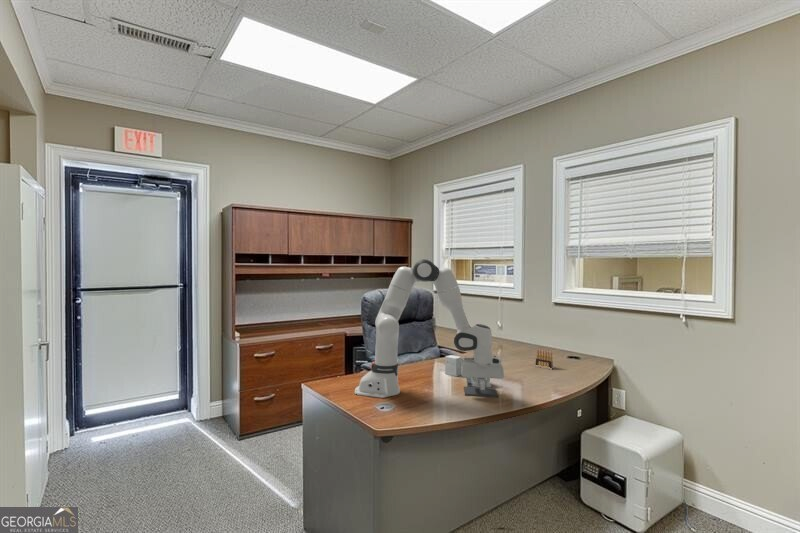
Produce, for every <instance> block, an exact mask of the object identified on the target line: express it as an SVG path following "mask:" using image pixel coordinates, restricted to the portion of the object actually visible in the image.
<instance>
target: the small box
mask: <svg viewBox="0 0 800 533" xmlns="http://www.w3.org/2000/svg"><path fill="white" fill-rule="evenodd" d="M444 358H445V362H444V363H445V364H444V365H445V366H444V368H445V370H444V371H445V372H444V374H445V375H448V376H451V377H456V378H457V377H459V376H462V375H461V370H462V366H461V360H462V359H463V358H462V356H457V355H454V354H453V355H452V354H449V355H446V356H445V357H444Z"/></svg>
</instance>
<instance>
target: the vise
mask: <svg viewBox="0 0 800 533" xmlns="http://www.w3.org/2000/svg"><path fill="white" fill-rule="evenodd" d="M483 379H487V378H483ZM484 383H486V382H484ZM466 387H477V386H472V382H471V377H466ZM485 388H492V386H491V387H485Z"/></svg>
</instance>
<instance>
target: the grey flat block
mask: <svg viewBox="0 0 800 533" xmlns="http://www.w3.org/2000/svg"><path fill="white" fill-rule="evenodd" d="M470 378H471V377H470ZM477 381H478V382H480V390H485V388H486V387H485V383H484V382H486V381H487V379H483V378H478V380H477ZM471 382H472V386H477V382H476V381H475V378H471ZM487 387H491V388H492V382H491V380H490V381H489V383H488V385H487Z"/></svg>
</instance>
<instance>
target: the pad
mask: <svg viewBox="0 0 800 533" xmlns="http://www.w3.org/2000/svg"><path fill="white" fill-rule="evenodd" d="M463 392H464V396H466V397H467V396H468V397H485V398H487V397H488V398H499V394H498V391H497V388H496V387H491V388H486V387H485V390H480V387H467V386H463Z"/></svg>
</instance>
